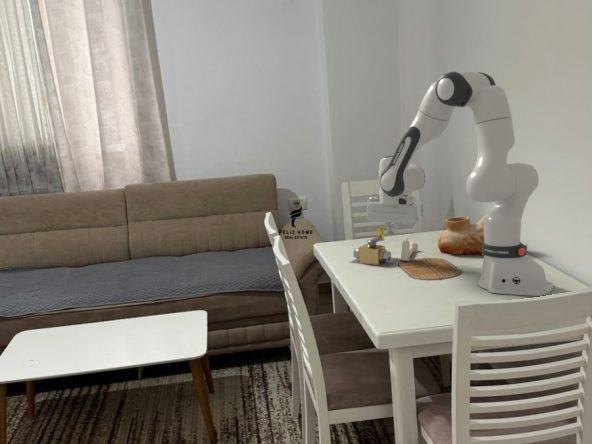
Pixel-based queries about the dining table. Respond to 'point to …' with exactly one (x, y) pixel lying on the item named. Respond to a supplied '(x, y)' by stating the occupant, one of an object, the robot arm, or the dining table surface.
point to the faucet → (408, 249)
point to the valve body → (372, 254)
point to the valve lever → (379, 238)
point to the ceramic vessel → (462, 237)
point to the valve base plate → (380, 264)
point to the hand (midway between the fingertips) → (392, 233)
